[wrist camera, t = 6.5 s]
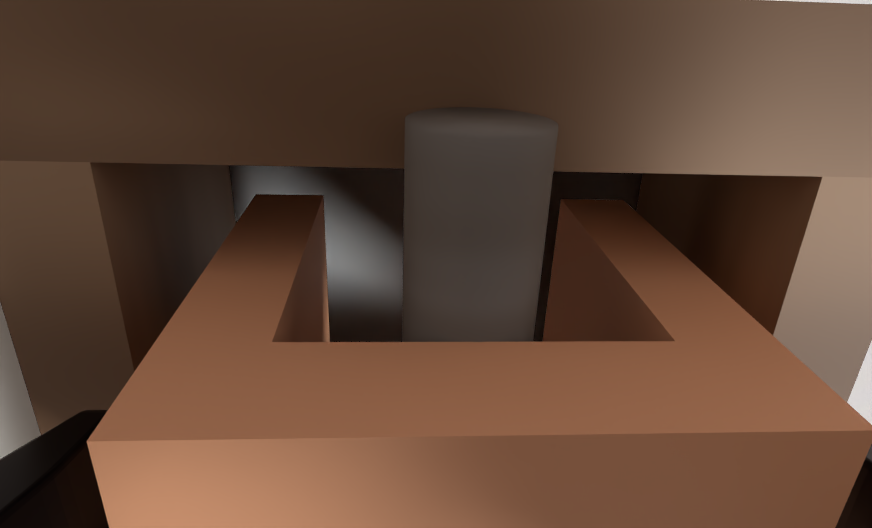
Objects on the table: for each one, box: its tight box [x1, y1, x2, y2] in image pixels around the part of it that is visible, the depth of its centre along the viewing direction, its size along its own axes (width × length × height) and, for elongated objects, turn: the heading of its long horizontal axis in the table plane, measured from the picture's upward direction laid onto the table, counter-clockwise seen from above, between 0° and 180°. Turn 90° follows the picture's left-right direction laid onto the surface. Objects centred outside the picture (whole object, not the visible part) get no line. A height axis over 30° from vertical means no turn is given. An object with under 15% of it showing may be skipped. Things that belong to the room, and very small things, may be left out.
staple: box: [87, 194, 872, 528], centre depth 9 cm, size 7×4×6 cm, turn 88°
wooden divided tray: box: [0, 0, 872, 435], centre depth 12 cm, size 16×12×7 cm
